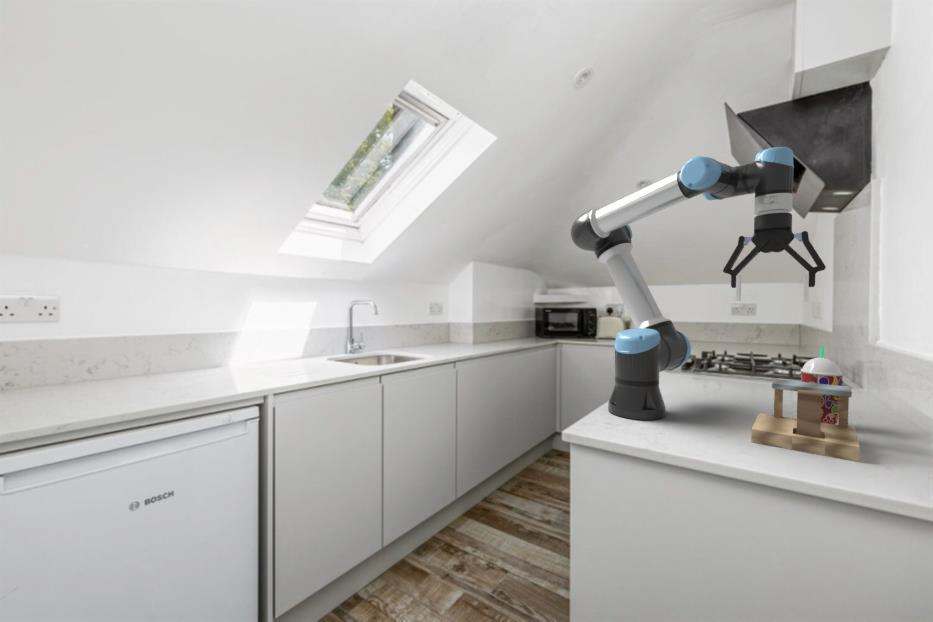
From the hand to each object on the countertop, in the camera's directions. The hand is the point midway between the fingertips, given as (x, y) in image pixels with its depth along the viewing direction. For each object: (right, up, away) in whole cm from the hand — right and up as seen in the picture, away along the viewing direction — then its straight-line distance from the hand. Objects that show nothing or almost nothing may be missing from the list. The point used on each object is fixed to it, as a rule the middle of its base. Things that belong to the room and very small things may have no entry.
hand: (770, 301), depth 104 cm
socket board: (+2, -32, -8) cm, 33 cm away
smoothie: (+15, -32, +4) cm, 36 cm away
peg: (0, -32, -11) cm, 34 cm away
